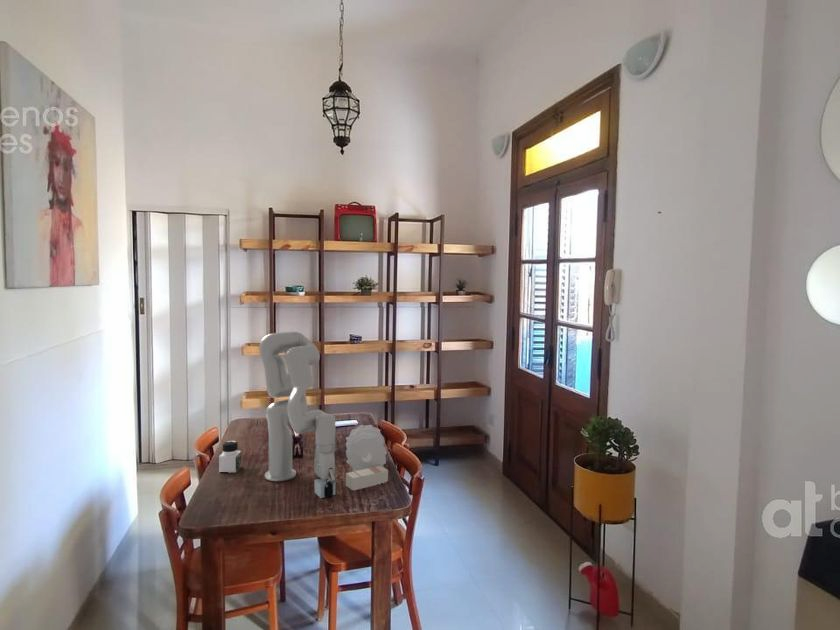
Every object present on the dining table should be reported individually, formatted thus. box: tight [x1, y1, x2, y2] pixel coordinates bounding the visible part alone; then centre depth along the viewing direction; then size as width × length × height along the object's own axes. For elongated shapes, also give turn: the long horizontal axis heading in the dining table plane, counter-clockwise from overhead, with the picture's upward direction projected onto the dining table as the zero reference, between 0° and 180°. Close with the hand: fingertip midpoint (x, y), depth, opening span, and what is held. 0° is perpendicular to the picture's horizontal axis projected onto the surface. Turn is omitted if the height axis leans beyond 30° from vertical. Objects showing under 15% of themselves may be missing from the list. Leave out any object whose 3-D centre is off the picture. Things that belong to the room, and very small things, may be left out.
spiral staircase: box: [345, 424, 388, 472], centre depth 216 cm, size 18×18×25 cm
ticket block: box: [345, 466, 389, 491], centre depth 199 cm, size 6×16×5 cm, turn 124°
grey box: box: [314, 476, 336, 499], centre depth 189 cm, size 6×6×5 cm
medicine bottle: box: [218, 440, 242, 473], centre depth 211 cm, size 7×7×12 cm
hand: (324, 492), depth 189 cm, fingers closed on grey box, 6 cm apart
